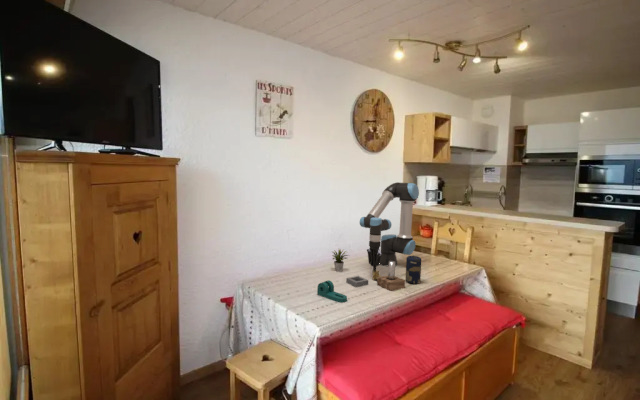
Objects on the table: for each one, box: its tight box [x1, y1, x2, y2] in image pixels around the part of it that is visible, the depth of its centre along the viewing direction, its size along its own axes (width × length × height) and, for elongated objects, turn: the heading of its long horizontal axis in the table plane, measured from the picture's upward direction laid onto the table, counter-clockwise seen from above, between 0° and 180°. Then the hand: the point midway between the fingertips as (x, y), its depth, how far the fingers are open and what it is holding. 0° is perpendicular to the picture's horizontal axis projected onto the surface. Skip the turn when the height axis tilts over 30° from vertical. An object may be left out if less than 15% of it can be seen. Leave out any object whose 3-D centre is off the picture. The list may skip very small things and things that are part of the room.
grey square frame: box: [345, 275, 369, 288], centre depth 211 cm, size 10×10×3 cm
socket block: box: [376, 274, 406, 292], centre depth 208 cm, size 12×12×5 cm
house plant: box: [332, 248, 349, 272], centre depth 237 cm, size 14×14×16 cm
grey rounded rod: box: [387, 261, 396, 280], centre depth 208 cm, size 4×4×16 cm
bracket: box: [316, 280, 348, 304], centre depth 187 cm, size 18×7×8 cm, turn 48°
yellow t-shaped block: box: [372, 269, 382, 281], centre depth 216 cm, size 10×4×6 cm, turn 33°
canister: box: [405, 255, 422, 285], centre depth 217 cm, size 10×10×18 cm
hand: (373, 275), depth 222 cm, fingers closed
